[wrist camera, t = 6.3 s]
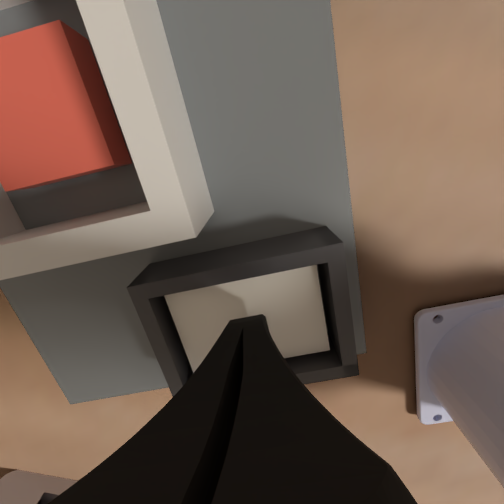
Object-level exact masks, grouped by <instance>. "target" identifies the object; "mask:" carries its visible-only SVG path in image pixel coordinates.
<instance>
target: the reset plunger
mask: <svg viewBox="0 0 504 504" xmlns="http://www.w3.org/2000/svg"><path fill="white" fill-rule="evenodd" d="M128 164H132V161H131V158H130V156H129V153H128V150H127V147H126V144H125V142H124V139H123V136H122V133H121V130H120V128H119V125H118V122H117V119H116V116H115V114H114V111H113V108H112V105H111V102H110V100H109V97H108V94H107V91H106V88H105V86H104V83H103V80H102V77H101V74H100V72H99V69H98V66H97V63H96V60H95V57H94V55H93V52H92V49H91V46H90V43H89V41H88V39H87V38H85V37H84V36H82V35H81V34H79V33H78V32H77V31H75V30H74V29H72V28H71V27H69V26H68V25H66V24H65V23H64V22H62V21H61V20H56V21H53V22H50V23H46V24H43V25H40V26H36V27H33V28H30V29H26V30H23V31H20V32H16V33H13V34H10V35H6V36H3V37H0V183H1V185H2V186H3V188H4V190H5V192H8V191H15V190H21V189H28V188H35V187H40V186H44V185H48V184H52V183H56V182H60V181H64V180H68V179H72V178H76V177H80V176H84V175H88V174H92V173H96V172H100V171H104V170H108V169H112V168H116V167H120V166H124V165H128Z"/></svg>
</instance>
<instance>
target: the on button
mask: <svg viewBox="0 0 504 504" xmlns="http://www.w3.org/2000/svg"><path fill="white" fill-rule="evenodd" d="M164 297H165V299H166V302H167V305H168V307H169V310H170V313H171V315H172V318H173V320H174V323H175V326H176V328H177V331H178V334H179V336H180V339H181V342H182V344H183V347H184V350H185V352H186V355H187V357H188V360H189V363H190V365H191V368H192V371H193V373H194V372H195V370H196V369H197V368H198V367H199V365H200V364H201V363H202V361H203V360H204V359H205V357H206V356H207V354H208V353H209V351H210V350H211V348H212V347H213V345H214V344H215V342H216V341H217V339H218V338H219V336H220V335H221V333H222V332H223V330H224V328H225V327H226V325H227V324H228V322H229V321H230V320H233V319H238V318H244V317H249V316H254V315H259V314H263V315H264V316H266V320H267V324H268V328H269V332H270V334H271V337H272V339H273V340H274V342H275V344H276V346H277V348H278V350H279V351H280V353H281V354H282V356H283V357H284V358H289V357H294V356H300V355H306V354H311V353H317V352H323V351H328V350H330V347H329V341H328V335H327V328H326V322H325V316H324V309H323V303H322V297H321V290H320V284H319V278H318V271H317V265H312V266H307V267H302V268H297V269H292V270H288V271H283V272H278V273H273V274H268V275H263V276H258V277H253V278H248V279H243V280H238V281H233V282H228V283H223V284H219V285H214V286H209V287H204V288H199V289H194V290H189V291H184V292H179V293H174V294H169V295H164Z"/></svg>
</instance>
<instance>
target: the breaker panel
mask: <svg viewBox="0 0 504 504" xmlns="http://www.w3.org/2000/svg"><path fill="white" fill-rule="evenodd" d="M56 20H61V21H62V22H64V23H65V24H66V25H68V26H69V27H71V28H72V29H74V30H75V31H77V32H78V33H79V34H81V35H82V36H84V37H85V38H87V39H88V41H89V43H90V46H91V49H92V52H93V55H94V57H95V60H96V63H97V66H98V69H99V72H100V74H101V77H102V80H103V83H104V86H105V88H106V91H107V94H108V97H109V100H110V102H111V105H112V108H113V111H114V114H115V116H116V119H117V122H118V125H119V128H120V130H121V133H122V136H123V139H124V142H125V144H126V147H127V150H128V153H129V156H130V158H131V161H132V164H128V165H124V166H120V167H116V168H112V169H108V170H104V171H100V172H96V173H92V174H88V175H84V176H80V177H76V178H72V179H68V180H64V181H60V182H56V183H52V184H48V185H44V186H40V187H35V188H28V189H21V190H15V191H8V192H5V190H4V188H3V186H2V185H1V183H0V288H1V290H2V291H3V293H4V295H5V296H6V298H7V300H8V301H9V303H10V305H11V306H12V308H13V310H14V311H15V313H16V315H17V316H18V318H19V320H20V321H21V323H22V325H23V326H24V328H25V330H26V331H27V333H28V335H29V336H30V338H31V340H32V341H33V343H34V345H35V346H36V348H37V350H38V351H39V353H40V355H41V356H42V358H43V360H44V361H45V363H46V365H47V366H48V368H49V370H50V371H51V373H52V375H53V376H54V378H55V380H56V381H57V383H58V385H59V386H60V388H61V390H62V391H63V393H64V395H65V396H66V398H67V400H68V401H69V403H70V404H75V403H81V402H87V401H93V400H98V399H104V398H110V397H116V396H121V395H127V394H133V393H139V392H144V391H150V390H156V389H162V388H168V387H169V389H170V391H171V393H172V396H173V397H174V396H175V394H176V393H177V392H178V391H179V390H180V389H181V388H182V387H183V385H184V384H185V383H186V382H187V381H188V380H189V378H190V377H191V376H192V374H193V371H192V368H191V365H190V363H189V360H188V357H187V355H186V352H185V350H184V347H183V344H182V342H181V339H180V336H179V334H178V331H177V328H176V326H175V323H174V320H173V318H172V315H171V313H170V310H169V307H168V305H167V302H166V299H165V297H164V295H169V294H174V293H179V292H184V291H189V290H194V289H199V288H204V287H209V286H214V285H219V284H223V283H228V282H233V281H238V280H243V279H248V278H253V277H258V276H263V275H268V274H273V273H278V272H283V271H288V270H292V269H297V268H302V267H307V266H312V265H317V271H318V278H319V284H320V290H321V297H322V303H323V309H324V316H325V322H326V328H327V335H328V341H329V347H330V350H328V351H323V352H317V353H311V354H306V355H300V356H294V357H289V358H284V359H285V360H286V362H287V363H288V365H289V366H290V368H291V369H292V370H293V372H294V373H295V374H296V376H297V377H298V378H299V380H300V381H301V382H302V383H303V384H309V383H315V382H321V381H327V380H333V379H339V378H345V377H351V376H357V375H359V370H358V361H357V355H358V354H364V353H367V352H366V343H365V333H364V323H363V314H362V304H361V294H360V285H359V275H358V265H357V256H356V246H355V236H354V227H353V217H352V207H351V198H350V188H349V178H348V169H347V159H346V149H345V140H344V130H343V121H342V111H341V101H340V92H339V82H338V72H337V63H336V53H335V43H334V34H333V24H332V14H331V5H330V0H0V37H3V36H6V35H10V34H13V33H16V32H20V31H23V30H26V29H30V28H33V27H36V26H40V25H43V24H46V23H50V22H53V21H56Z"/></svg>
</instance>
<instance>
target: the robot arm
mask: <svg viewBox="0 0 504 504" xmlns="http://www.w3.org/2000/svg"><path fill="white" fill-rule="evenodd" d="M436 315H438V316H437V317H436V318H435V319H433V318H434V317H435V316H436ZM414 332H415V365H416V399H417V417H418V419H419V420H420V422H421V423H423V424H435V423H442V422H449V421H454V422H455V424H456V425H457V426H458V428H459V429H460V430H461V432H462V433H463V434H464V436H465V437H466V438H467V440H468V441H469V442H470V444H471V445H472V446H473V448H474V449H475V450H476V452H477V453H478V454H479V456H480V457H481V458H482V460H483V461H484V462H485V464H486V465H487V466H488V468H489V469H490V470H491V472H492V473H493V474H494V476H495V477H496V478H497V480H498V481H499V482H500V484H501V485H502V486H503V488H504V295H498V296H493V297H487V298H482V299H476V300H471V301H465V302H460V303H455V304H449V305H444V306H438V307H433V308H427V309H423V310H420V311H419V312H417V313H416V315H415V317H414ZM48 504H417V502H416V501H415V499H414V498H413V496H412V495H411V493H410V492H409V490H408V489H407V488H406V486H405V485H404V483H403V482H402V481H401V479H400V478H399V476H398V475H397V474H396V472H395V471H394V470H393V468H392V467H391V465H389V464H388V463H387V462H386V461H385V460H383V459H382V458H381V457H380V456H378V455H377V454H376V453H375V452H373V451H372V450H371V449H370V448H368V447H367V446H366V445H365V444H364V443H363V442H361V441H360V440H359V439H358V438H357V437H355V436H354V435H353V434H352V433H351V432H350V431H349V430H348V429H347V428H345V427H344V426H343V425H342V424H341V423H340V422H339V421H338V420H337V419H336V418H335V417H334V416H333V415H332V414H331V413H330V412H329V411H328V410H327V409H326V408H325V407H324V406H323V405H322V404H321V403H320V402H319V401H318V400H317V399H316V398H315V397H314V396H313V395H312V394H311V393H310V391H309V390H308V389H307V388H306V387H305V386H304V384H303V383H302V382H301V381H300V380H299V378H298V377H297V376H296V374H295V373H294V372H293V370H292V369H291V368H290V366H289V365H288V363H287V362H286V360H285V359H284V357H283V356H282V354H281V353H280V351H279V350H278V348H277V346H276V344H275V342H274V340H273V339H272V337H271V334H270V332H269V328H268V324H267V320H266V316H264V315H263V314H259V315H254V316H249V317H244V318H238V319H233V320H230V321H229V322H228V324H227V325H226V327H225V328H224V330H223V332H222V333H221V335H220V336H219V338H218V339H217V341H216V342H215V344H214V345H213V347H212V348H211V350H210V351H209V353H208V354H207V356H206V357H205V359H204V360H203V361H202V363H201V364H200V365H199V367H198V368H197V369H196V370H195V372H194V373H193V374H192V376H191V377H190V378H189V380H188V381H187V382H186V383H185V384H184V385H183V387H182V388H181V389H180V390H179V391H178V392H177V393H176V394H175V396H174V397H173V398H172V399H171V400H170V401H169V402H168V403H167V404H166V405H165V406H164V407H163V408H162V409H161V410H160V411H159V412H158V413H157V414H156V415H155V416H154V417H153V418H152V419H151V420H150V421H149V422H148V423H147V424H146V425H145V426H144V427H143V428H141V429H140V430H139V431H138V432H137V433H136V434H135V435H134V436H133V437H132V438H131V439H129V440H128V441H127V442H126V443H125V444H124V445H122V446H121V447H120V448H119V449H118V450H117V451H115V452H114V453H113V454H112V455H111V456H109V457H108V458H107V459H106V460H105V461H103V462H102V463H101V464H100V465H98V466H97V467H96V468H95V469H93V470H92V471H91V472H89V473H88V474H87V475H86V476H84V477H83V478H82V479H80V480H79V481H77V482H76V483H75V484H73V485H72V486H71V487H69V488H68V489H67V490H65V491H64V492H63V493H61V494H60V495H59V496H57V497H56V498H55V499H53V500H52V501H51V502H49V503H48Z"/></svg>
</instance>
